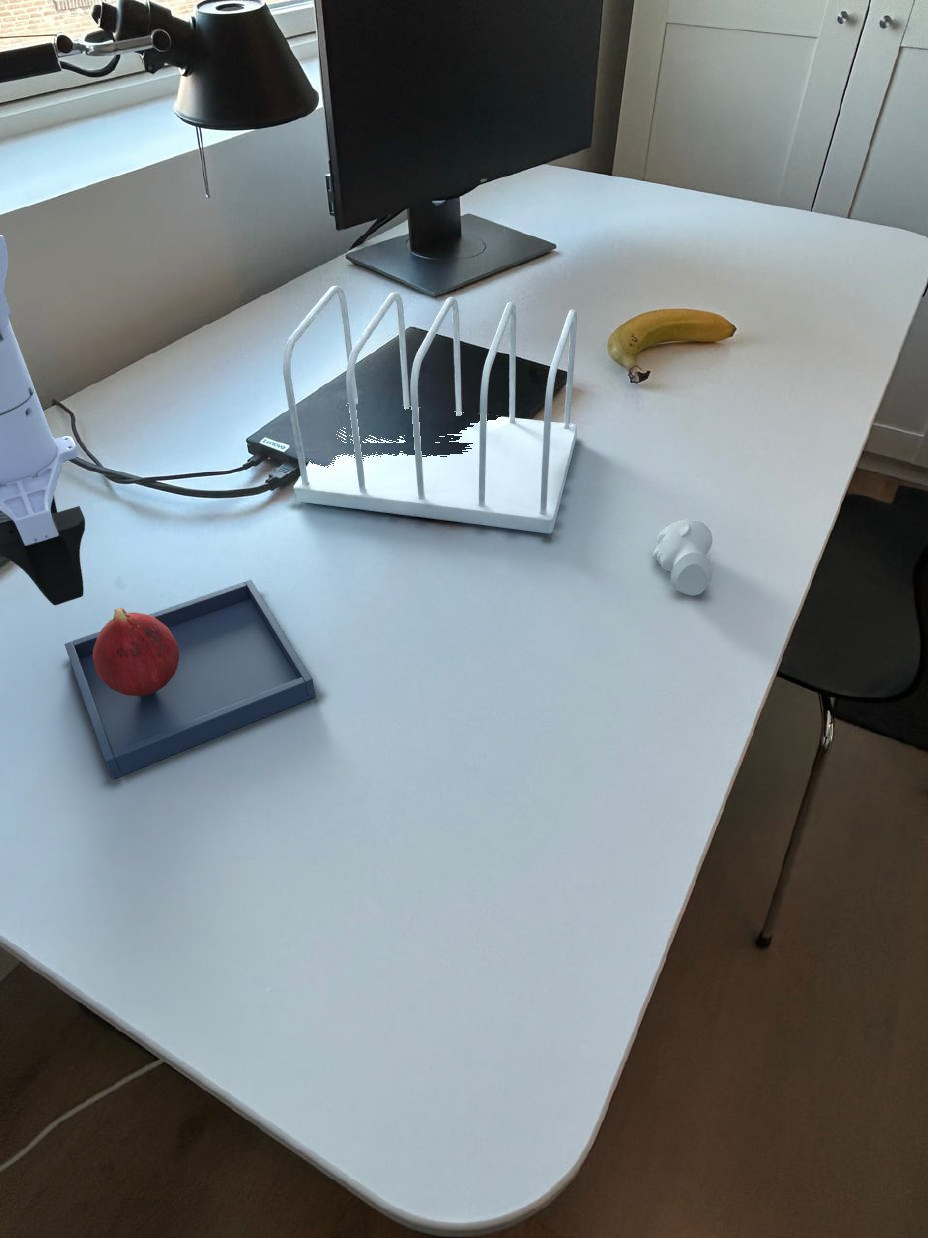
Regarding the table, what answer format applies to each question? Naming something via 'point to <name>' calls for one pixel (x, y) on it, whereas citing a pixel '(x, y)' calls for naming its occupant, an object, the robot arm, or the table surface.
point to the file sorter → (460, 483)
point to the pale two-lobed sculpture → (685, 555)
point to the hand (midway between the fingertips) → (56, 567)
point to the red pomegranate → (135, 654)
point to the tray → (197, 680)
